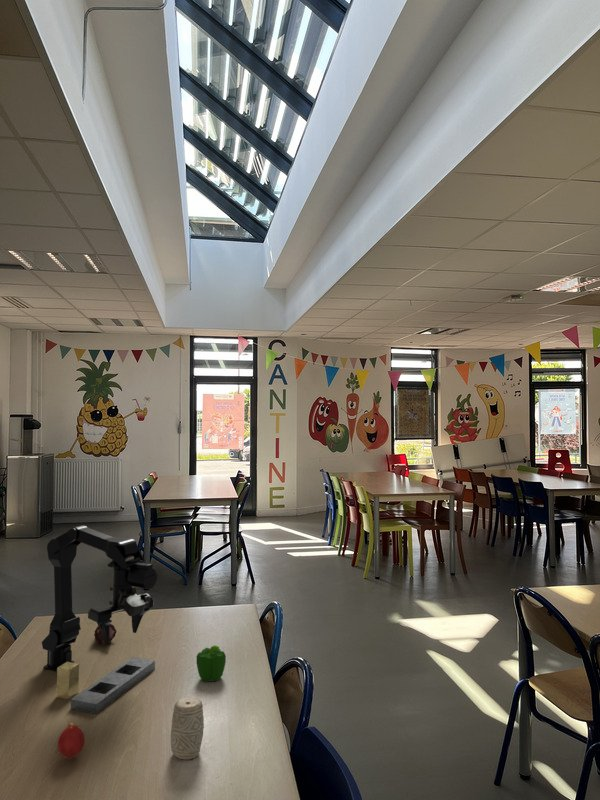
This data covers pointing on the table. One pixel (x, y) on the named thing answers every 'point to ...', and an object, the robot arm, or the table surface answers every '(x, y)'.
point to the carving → (187, 728)
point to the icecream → (100, 637)
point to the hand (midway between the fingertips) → (121, 637)
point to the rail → (112, 685)
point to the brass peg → (67, 680)
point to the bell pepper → (211, 663)
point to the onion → (71, 741)
